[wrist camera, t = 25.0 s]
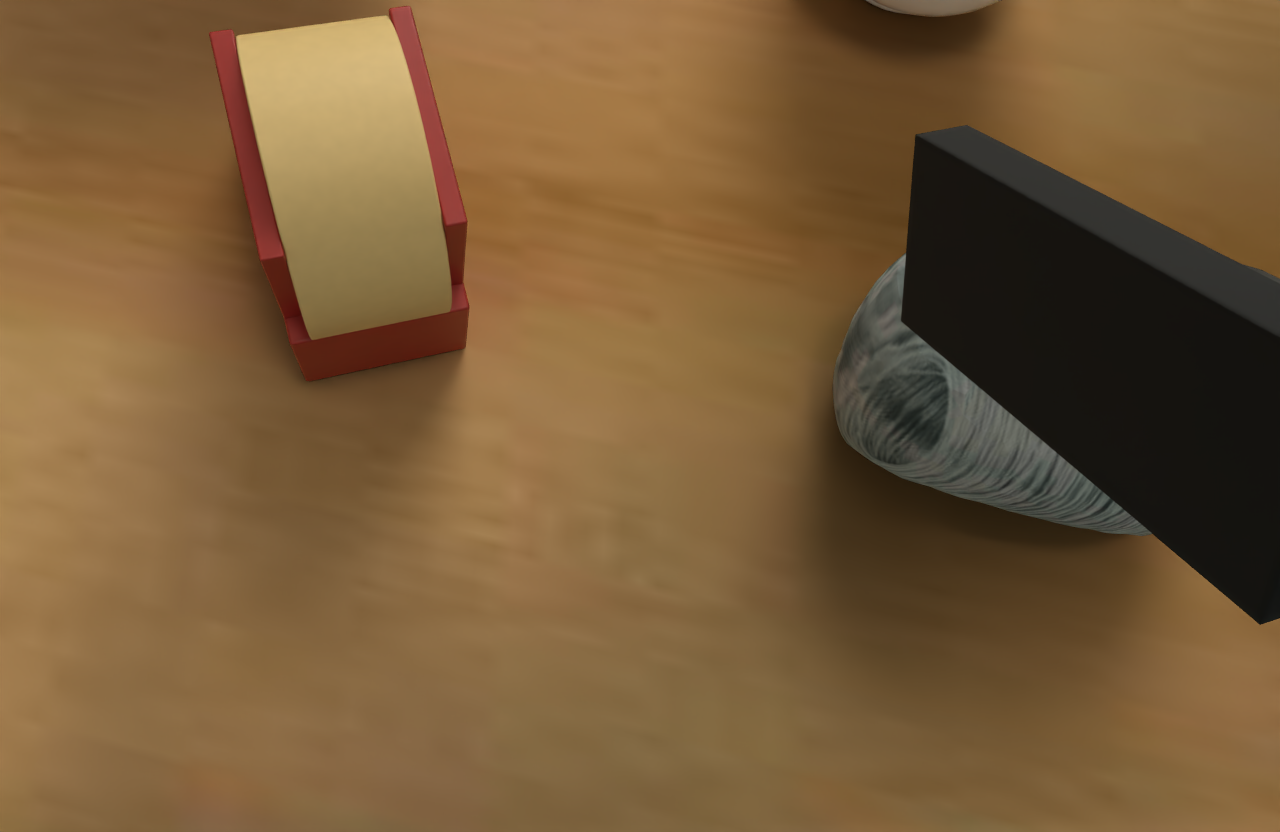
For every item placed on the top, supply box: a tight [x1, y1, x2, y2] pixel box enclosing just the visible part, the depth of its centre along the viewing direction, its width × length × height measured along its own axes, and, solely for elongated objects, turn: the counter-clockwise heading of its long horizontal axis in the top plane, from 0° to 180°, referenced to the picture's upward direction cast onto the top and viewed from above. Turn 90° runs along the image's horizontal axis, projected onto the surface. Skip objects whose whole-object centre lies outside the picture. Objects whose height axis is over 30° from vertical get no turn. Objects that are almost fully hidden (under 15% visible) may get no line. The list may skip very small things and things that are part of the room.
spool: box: [833, 253, 1152, 536], centre depth 35 cm, size 14×10×10 cm
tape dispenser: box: [209, 6, 469, 381], centre depth 31 cm, size 5×9×10 cm, turn 16°
